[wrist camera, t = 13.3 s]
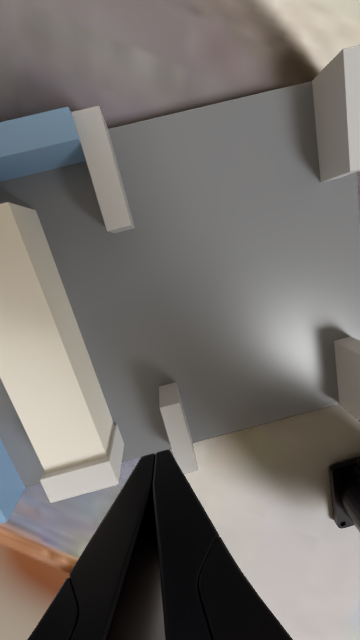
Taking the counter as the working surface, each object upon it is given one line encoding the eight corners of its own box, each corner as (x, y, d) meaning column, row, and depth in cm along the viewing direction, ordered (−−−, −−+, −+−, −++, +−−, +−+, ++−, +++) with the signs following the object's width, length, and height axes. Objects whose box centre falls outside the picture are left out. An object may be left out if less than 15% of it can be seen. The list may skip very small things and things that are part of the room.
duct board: (362, 391, 21) (403, 421, 17) (7, 486, 20) (-24, 536, 17) (344, 78, 15) (400, 29, 12) (-147, 194, 15) (-241, 178, 11)
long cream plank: (124, 443, 19) (118, 484, 16) (68, 459, 19) (50, 502, 16) (39, 209, 15) (7, 199, 12) (-34, 227, 15) (-87, 222, 12)
